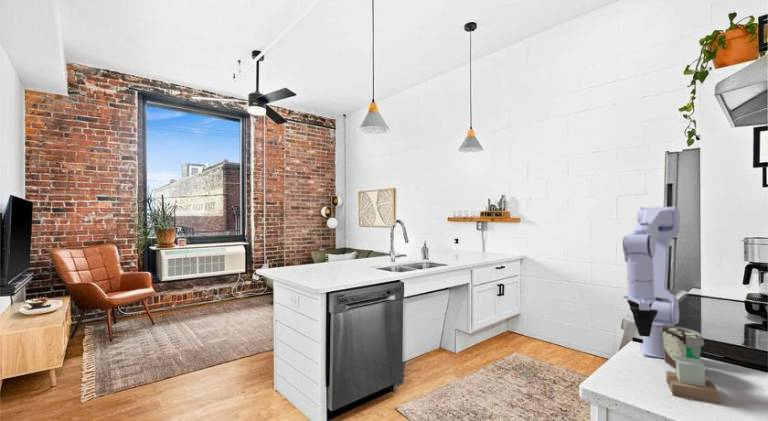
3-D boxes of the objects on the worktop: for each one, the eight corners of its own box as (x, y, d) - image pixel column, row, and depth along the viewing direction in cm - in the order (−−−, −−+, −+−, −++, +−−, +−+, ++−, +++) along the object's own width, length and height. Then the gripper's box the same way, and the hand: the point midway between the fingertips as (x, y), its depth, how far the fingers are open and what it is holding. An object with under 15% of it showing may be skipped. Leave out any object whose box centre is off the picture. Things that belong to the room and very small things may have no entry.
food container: (718, 381, 89) (716, 340, 89) (689, 379, 90) (687, 339, 90) (687, 361, 101) (685, 325, 101) (661, 360, 102) (660, 324, 102)
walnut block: (666, 383, 90) (666, 370, 90) (709, 389, 86) (708, 377, 86) (672, 397, 83) (672, 384, 83) (719, 405, 79) (718, 391, 79)
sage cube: (676, 374, 87) (675, 356, 87) (700, 378, 85) (699, 359, 85) (679, 382, 83) (678, 362, 83) (705, 386, 81) (704, 366, 81)
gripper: (620, 274, 104) (622, 322, 104) (624, 283, 91) (626, 337, 91) (650, 276, 100) (653, 325, 100) (659, 285, 88) (661, 341, 88)
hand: (642, 331), depth 95 cm, fingers open, 7 cm apart
